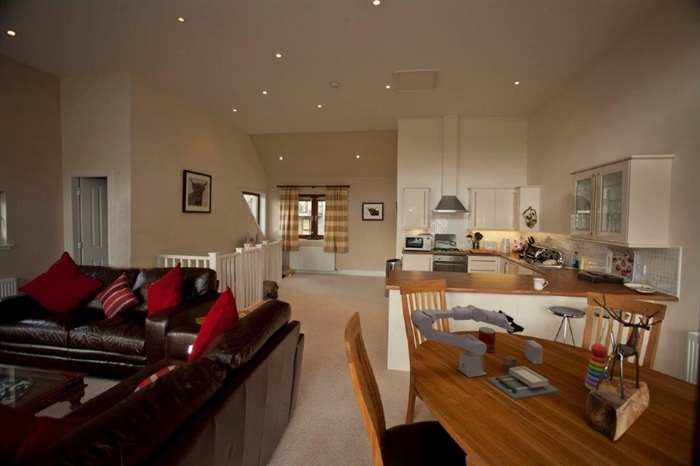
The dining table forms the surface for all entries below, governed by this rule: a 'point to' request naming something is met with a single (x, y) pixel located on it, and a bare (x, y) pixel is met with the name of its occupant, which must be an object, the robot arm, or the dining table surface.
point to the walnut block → (509, 362)
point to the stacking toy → (596, 366)
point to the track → (519, 387)
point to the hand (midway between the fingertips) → (517, 325)
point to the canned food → (487, 338)
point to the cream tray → (528, 376)
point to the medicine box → (533, 352)
